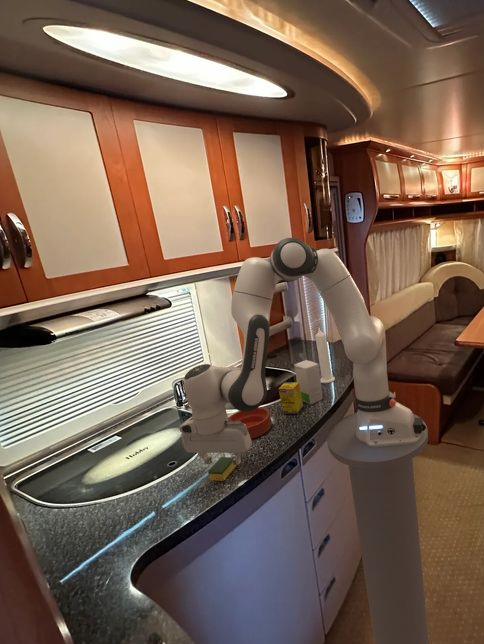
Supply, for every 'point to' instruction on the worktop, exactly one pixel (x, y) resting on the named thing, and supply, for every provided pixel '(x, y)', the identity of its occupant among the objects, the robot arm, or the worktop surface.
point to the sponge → (221, 469)
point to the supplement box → (291, 398)
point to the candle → (323, 357)
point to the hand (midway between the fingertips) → (223, 463)
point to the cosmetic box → (309, 381)
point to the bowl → (254, 421)
